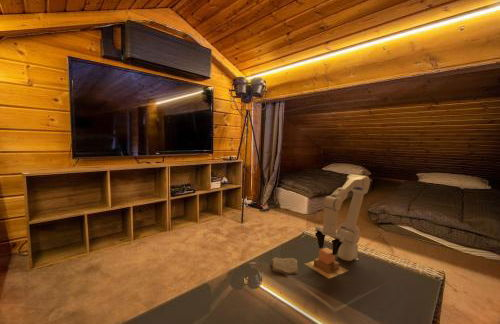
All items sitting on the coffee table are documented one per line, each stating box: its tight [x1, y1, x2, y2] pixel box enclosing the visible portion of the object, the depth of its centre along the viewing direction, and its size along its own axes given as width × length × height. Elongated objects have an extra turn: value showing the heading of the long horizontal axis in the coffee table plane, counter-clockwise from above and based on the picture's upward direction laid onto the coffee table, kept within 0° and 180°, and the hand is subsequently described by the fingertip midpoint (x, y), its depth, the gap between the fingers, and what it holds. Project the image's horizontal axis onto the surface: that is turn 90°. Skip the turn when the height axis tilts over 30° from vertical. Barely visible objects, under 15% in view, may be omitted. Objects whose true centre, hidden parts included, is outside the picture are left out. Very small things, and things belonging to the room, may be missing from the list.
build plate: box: [304, 260, 349, 280], centre depth 109 cm, size 14×14×1 cm
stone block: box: [271, 256, 299, 276], centre depth 107 cm, size 12×5×10 cm
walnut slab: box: [313, 257, 340, 274], centre depth 109 cm, size 8×8×3 cm
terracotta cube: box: [318, 246, 336, 265], centre depth 109 cm, size 5×5×5 cm
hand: (327, 251), depth 109 cm, fingers open, 7 cm apart
